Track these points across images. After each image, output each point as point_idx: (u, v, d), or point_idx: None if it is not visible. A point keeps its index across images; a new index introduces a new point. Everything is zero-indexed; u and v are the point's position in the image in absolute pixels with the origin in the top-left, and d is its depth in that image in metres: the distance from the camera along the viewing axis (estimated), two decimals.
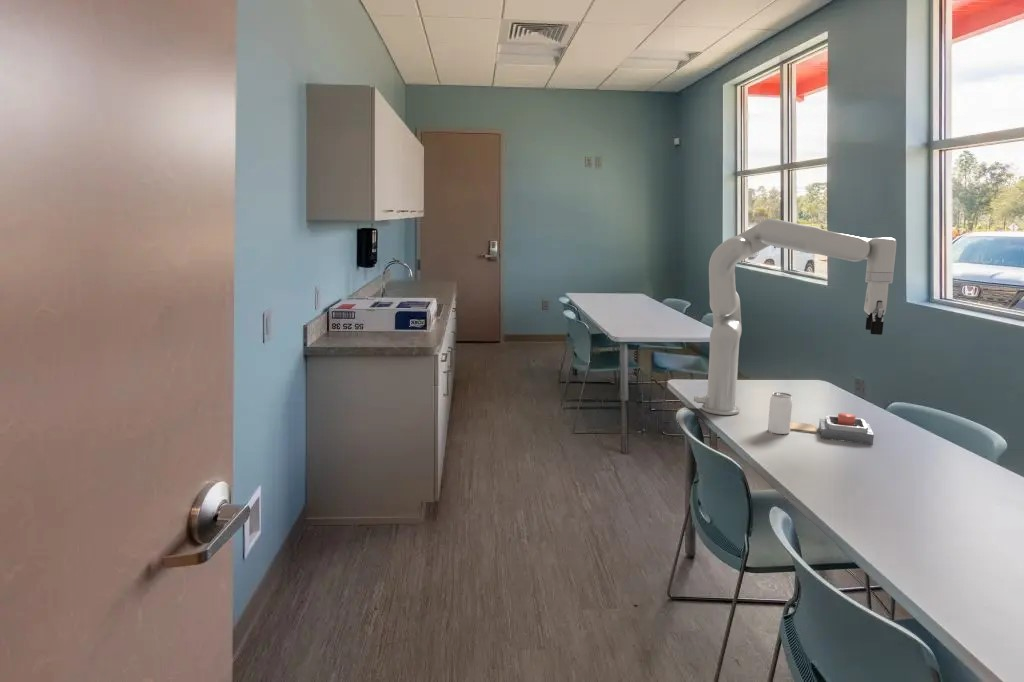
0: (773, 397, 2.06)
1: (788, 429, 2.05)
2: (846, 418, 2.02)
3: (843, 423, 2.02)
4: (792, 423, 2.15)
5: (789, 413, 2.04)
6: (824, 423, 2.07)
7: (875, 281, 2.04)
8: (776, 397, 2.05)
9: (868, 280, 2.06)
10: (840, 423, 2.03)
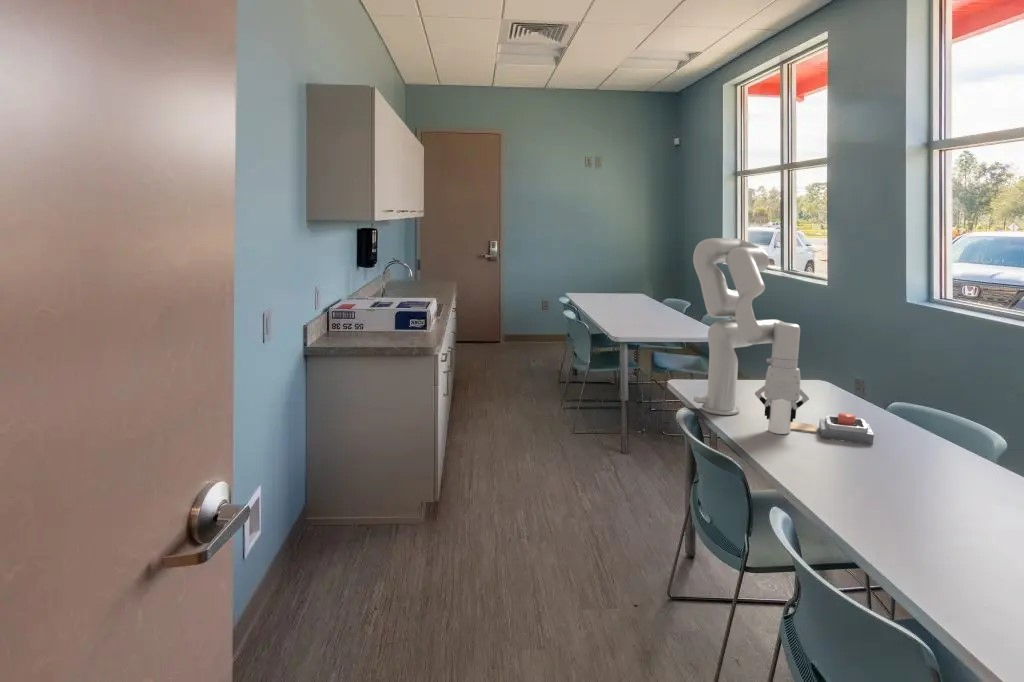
0: None
1: (788, 429, 2.05)
2: (846, 418, 2.02)
3: (843, 423, 2.02)
4: (792, 423, 2.15)
5: (789, 413, 2.04)
6: (824, 423, 2.07)
7: (796, 368, 2.02)
8: None
9: (791, 368, 2.01)
10: (840, 423, 2.03)
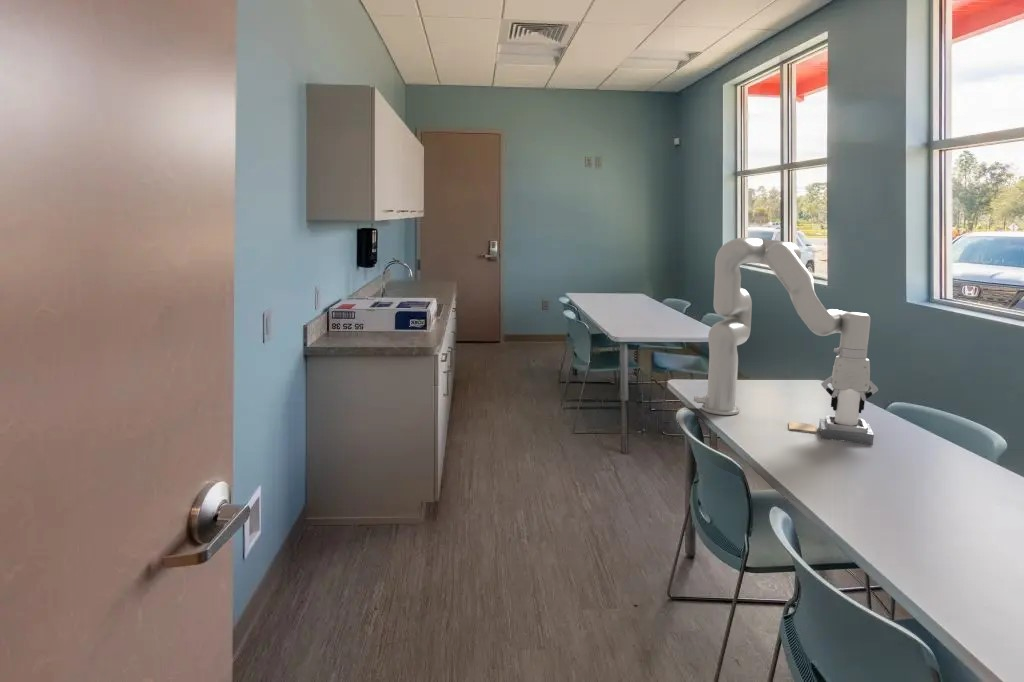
0: None
1: (856, 420, 2.01)
2: None
3: None
4: (792, 423, 2.15)
5: (858, 404, 2.00)
6: (824, 423, 2.07)
7: (865, 358, 1.98)
8: None
9: (860, 358, 1.97)
10: None
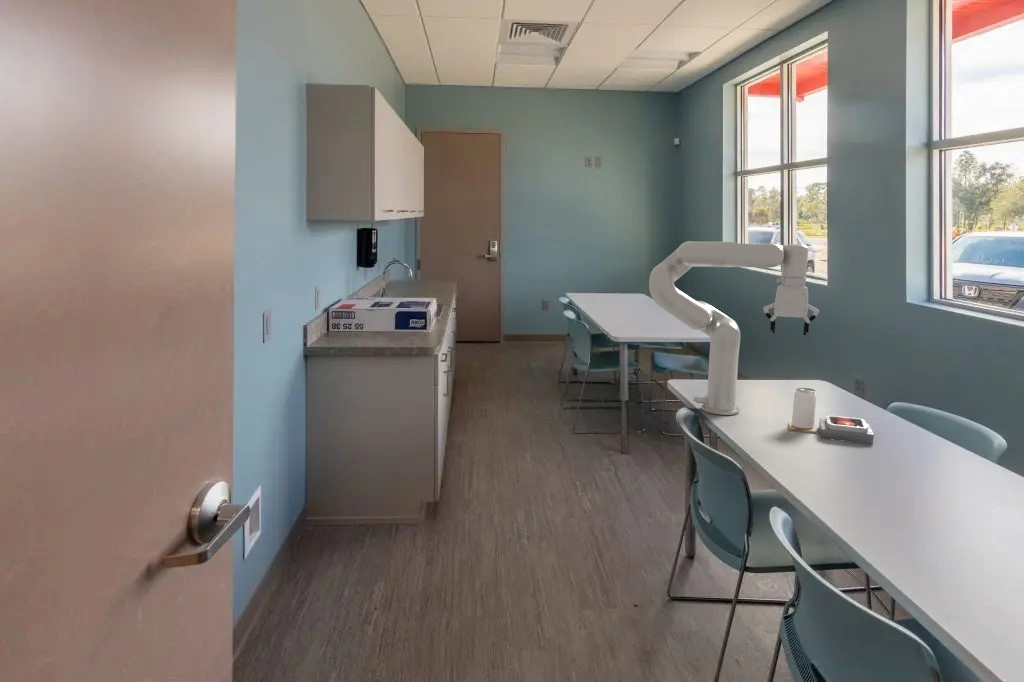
0: (797, 392, 2.09)
1: (812, 424, 2.09)
2: None
3: None
4: None
5: (813, 408, 2.08)
6: (824, 423, 2.07)
7: (804, 285, 2.16)
8: (800, 392, 2.08)
9: (799, 285, 2.15)
10: None
